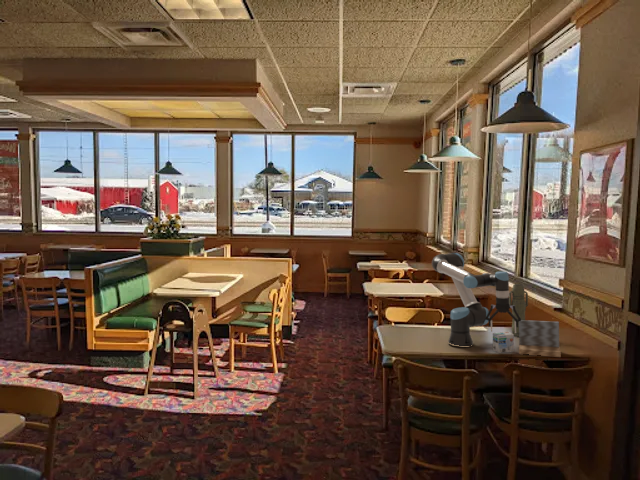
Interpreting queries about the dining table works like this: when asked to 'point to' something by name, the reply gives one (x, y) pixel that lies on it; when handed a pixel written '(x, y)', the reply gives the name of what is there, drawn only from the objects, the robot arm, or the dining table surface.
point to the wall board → (539, 338)
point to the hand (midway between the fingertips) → (503, 331)
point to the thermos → (518, 304)
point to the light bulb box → (503, 342)
